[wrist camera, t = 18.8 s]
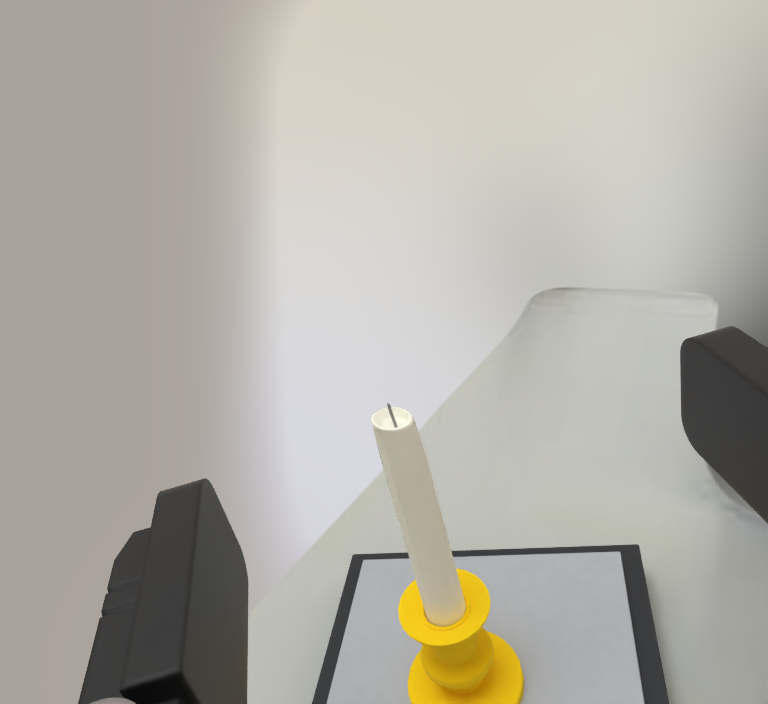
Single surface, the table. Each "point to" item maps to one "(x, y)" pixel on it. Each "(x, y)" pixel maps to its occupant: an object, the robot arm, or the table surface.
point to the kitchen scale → (509, 626)
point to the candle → (440, 587)
